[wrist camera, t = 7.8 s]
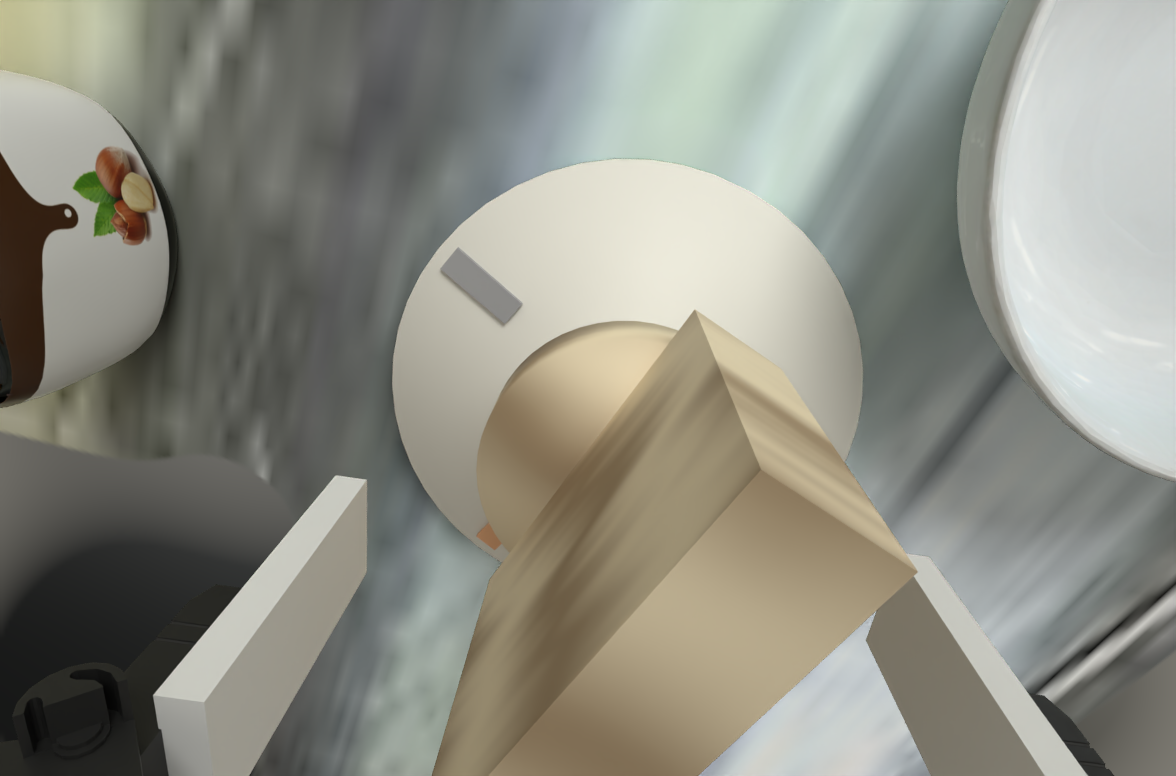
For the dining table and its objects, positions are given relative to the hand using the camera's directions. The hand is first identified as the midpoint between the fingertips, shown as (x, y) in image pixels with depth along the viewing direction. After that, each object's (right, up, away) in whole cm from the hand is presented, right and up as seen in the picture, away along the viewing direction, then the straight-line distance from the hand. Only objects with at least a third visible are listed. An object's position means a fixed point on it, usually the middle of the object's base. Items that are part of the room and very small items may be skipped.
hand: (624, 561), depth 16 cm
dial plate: (+1, +4, +10) cm, 11 cm away
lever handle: (0, +2, +6) cm, 6 cm away
